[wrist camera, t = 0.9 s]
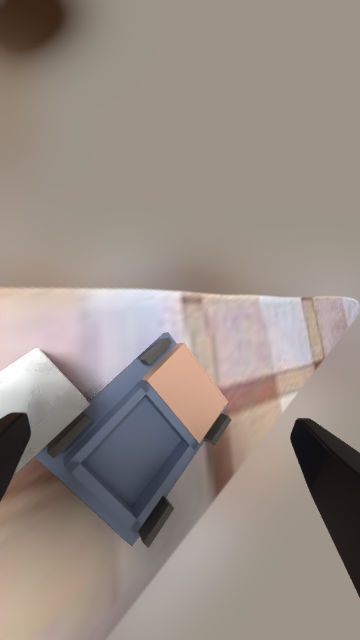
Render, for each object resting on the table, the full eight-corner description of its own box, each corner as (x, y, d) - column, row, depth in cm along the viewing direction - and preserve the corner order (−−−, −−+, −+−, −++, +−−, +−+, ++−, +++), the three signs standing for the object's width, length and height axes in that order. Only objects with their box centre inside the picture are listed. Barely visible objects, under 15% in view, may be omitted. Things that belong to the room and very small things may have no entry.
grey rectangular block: (26, 436, 16) (15, 474, 11) (-21, 392, 15) (-57, 411, 10) (79, 390, 18) (90, 404, 13) (40, 350, 17) (36, 347, 12)
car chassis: (128, 537, 18) (138, 562, 16) (35, 451, 16) (32, 466, 14) (220, 407, 25) (236, 412, 23) (163, 333, 23) (175, 330, 21)
